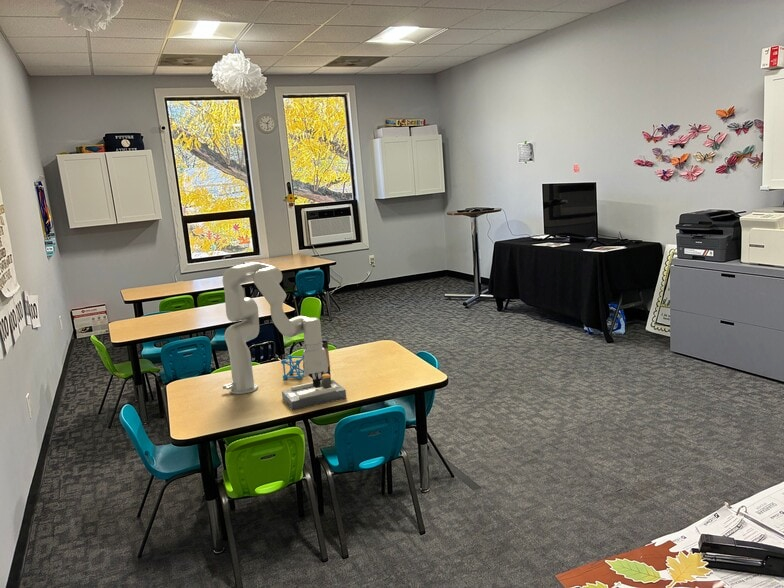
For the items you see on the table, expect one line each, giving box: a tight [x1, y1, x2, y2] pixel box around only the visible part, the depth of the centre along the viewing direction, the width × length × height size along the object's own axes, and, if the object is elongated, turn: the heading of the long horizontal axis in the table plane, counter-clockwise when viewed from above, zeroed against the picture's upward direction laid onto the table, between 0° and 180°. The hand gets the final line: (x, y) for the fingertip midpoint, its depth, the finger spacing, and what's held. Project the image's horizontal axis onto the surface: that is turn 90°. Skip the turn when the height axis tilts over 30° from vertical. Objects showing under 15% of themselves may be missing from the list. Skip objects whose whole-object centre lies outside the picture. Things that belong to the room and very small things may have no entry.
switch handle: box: [321, 373, 331, 388], centre depth 259 cm, size 3×3×5 cm
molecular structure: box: [280, 354, 304, 380], centre depth 290 cm, size 10×10×10 cm
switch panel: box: [281, 379, 347, 411], centre depth 257 cm, size 24×16×5 cm, turn 115°
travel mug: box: [315, 340, 332, 381], centre depth 275 cm, size 8×8×20 cm
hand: (317, 386), depth 258 cm, fingers closed
